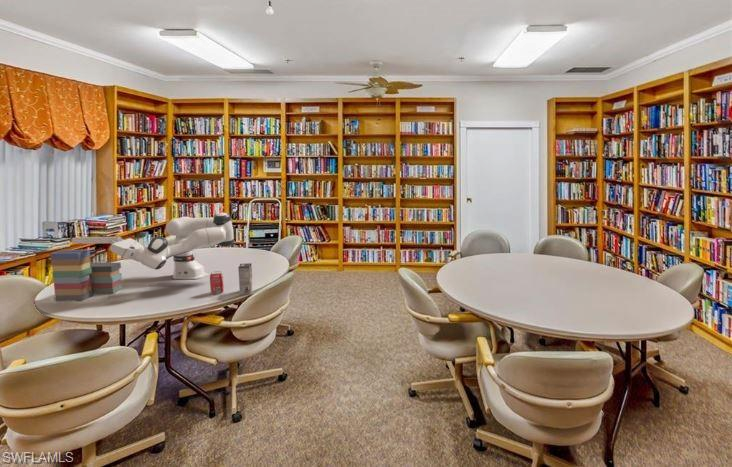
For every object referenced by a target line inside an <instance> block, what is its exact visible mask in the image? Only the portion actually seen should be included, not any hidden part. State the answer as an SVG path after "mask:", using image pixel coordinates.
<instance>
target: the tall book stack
mask: <svg viewBox="0 0 732 467" xmlns="http://www.w3.org/2000/svg"><path fill="white" fill-rule="evenodd" d="M49 255H50V265H51V267H52V271H51V273H52V280H53V288H54V297H55V298H54V299H55V301H56V302H82V301H83V302H84V301H85V300H87V299H89V298H92V297H93V296H94V294H93V290H91V285H92V284H93V283H92V278H90V276H89V274H90V273H92V269H91V267H90V263H91V257H90V256H91V250H90V249H62V250H58V251H55V252H51V253H49Z"/></svg>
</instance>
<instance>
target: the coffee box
mask: <svg viewBox="0 0 732 467" xmlns="http://www.w3.org/2000/svg"><path fill="white" fill-rule="evenodd" d="M237 269H238V283H239V284H238V285H239V287H238V288H239V295H251V294H252V291H253V273H252V272H253V271H252V269H253V268H252V262H250V263H240V264H239V266H238V268H237Z"/></svg>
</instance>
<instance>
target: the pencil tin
mask: <svg viewBox="0 0 732 467" xmlns="http://www.w3.org/2000/svg"><path fill="white" fill-rule="evenodd" d="M109 239H113V240H114V241H115V242H119V241H122V239H123V238H122V236H76V237H72V238H71V242H72V243H71V244H76V245H77V244H81V245H83V244H85V245H86V244H88V245H89V244H111V243H110V242H108V240H109Z"/></svg>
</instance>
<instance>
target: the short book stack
mask: <svg viewBox="0 0 732 467" xmlns="http://www.w3.org/2000/svg"><path fill="white" fill-rule="evenodd" d="M121 264H122V263H121V262H90V267H91V269H92V273H90V274H89V276H90V278H92V283H93V284H92V285H91V290H93V295H114V294H116V293H118V292H120V291H121V290H122V289H123V286H122V279H123V278H122V272H120V269H121V268H122V265H121Z"/></svg>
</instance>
